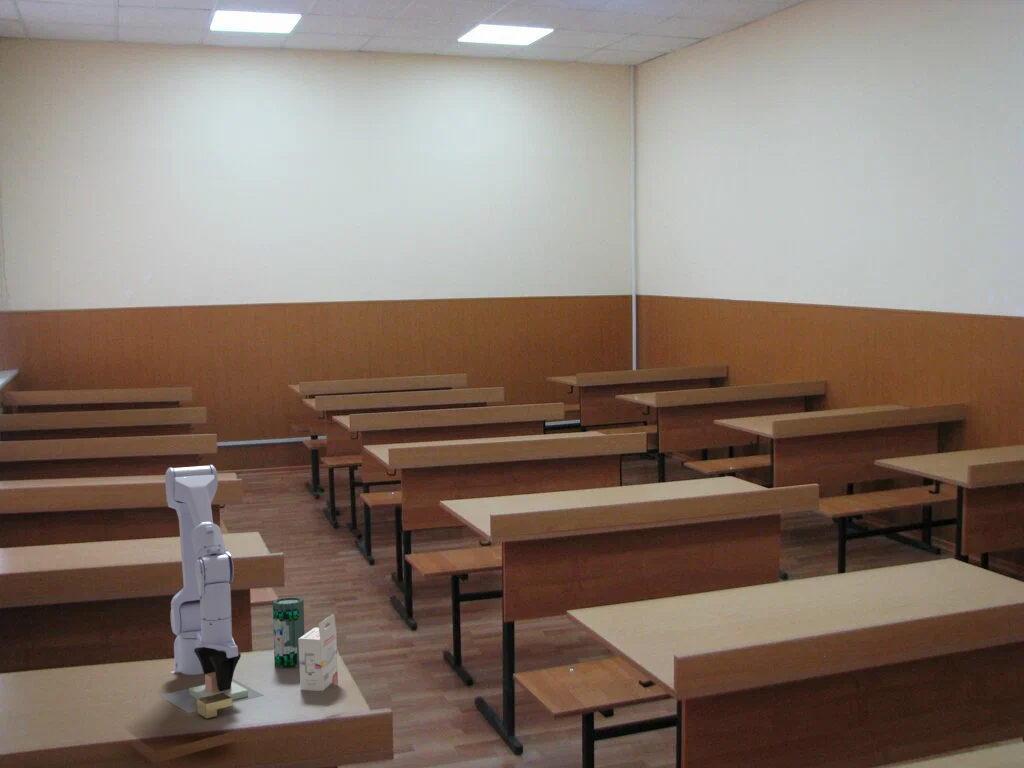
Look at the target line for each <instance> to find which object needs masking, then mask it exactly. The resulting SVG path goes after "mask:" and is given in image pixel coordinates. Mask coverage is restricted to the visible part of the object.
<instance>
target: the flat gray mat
mask: <svg viewBox="0 0 1024 768" xmlns="http://www.w3.org/2000/svg"><path fill="white" fill-rule="evenodd" d="M232 682H234V683H236V684H238V685H239V686H241V687H243V688H245V689H247V690H248V696H247V697H243V698H239V699H234V700H232V704H234V703H239V702H242V701H247V700H250V699H253V698H259V697H263V696H264V694H262V693H260V692H258V691H257V690H255V689H253V688H251V687H249V686H247V685H246V684H243V683H241V682H239V681H238V680H235V679H234V678H232ZM159 696H160V697H162V698H163V699H165V700H167V701H168V702H170V703H171V704H173V705H174V706H176V707H177V708H179V709H181V710H182V711H184V712H185V713H187V714H194V713H198V710H197V699H196V698H195V697H193V696H191V695H190V694H189V688H186V689H181V690H176V691H172V692H167V693H164V694H160V695H159Z"/></svg>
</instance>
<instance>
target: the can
mask: <svg viewBox="0 0 1024 768" xmlns="http://www.w3.org/2000/svg"><path fill="white" fill-rule="evenodd" d="M304 602H305V601H304V599H303V598H301V597H297V596H296V597H290V596H289V597H281V598H275V599H274V600H273V601H272V623H273V625H272V627H273V651H274V652H273V658H274V666H275V668H279V669H287V670H288V669H293V668H295V669H296V668H298V669H300V665H299V644H298V639H299V638H300V637H302V636H303V635H305V634H306V633H305V612H304V611H305V608H304V607H305V606H304V605H305V604H304Z"/></svg>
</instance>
